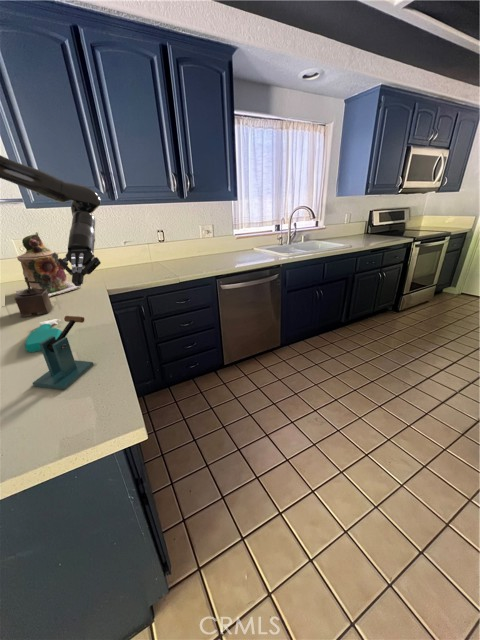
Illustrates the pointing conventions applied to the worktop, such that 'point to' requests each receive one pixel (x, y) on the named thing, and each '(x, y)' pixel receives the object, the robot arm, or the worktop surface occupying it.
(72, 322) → the lever handle
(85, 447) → the worktop surface
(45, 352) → the teal lever stand
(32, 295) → the manual coffee grinder
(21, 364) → the worktop surface
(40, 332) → the spray bottle
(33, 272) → the cookie jar
